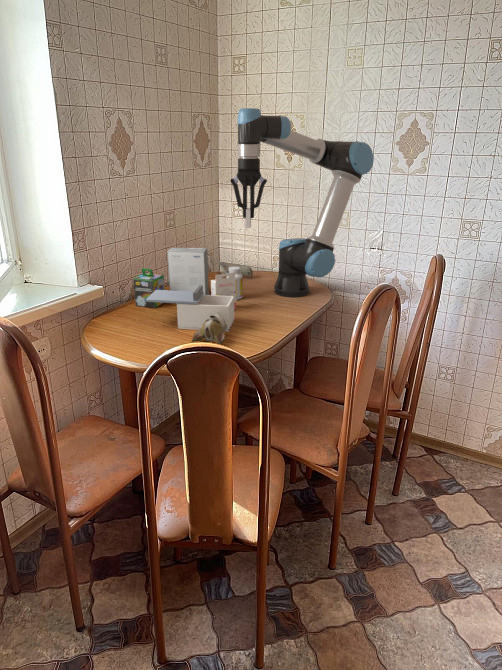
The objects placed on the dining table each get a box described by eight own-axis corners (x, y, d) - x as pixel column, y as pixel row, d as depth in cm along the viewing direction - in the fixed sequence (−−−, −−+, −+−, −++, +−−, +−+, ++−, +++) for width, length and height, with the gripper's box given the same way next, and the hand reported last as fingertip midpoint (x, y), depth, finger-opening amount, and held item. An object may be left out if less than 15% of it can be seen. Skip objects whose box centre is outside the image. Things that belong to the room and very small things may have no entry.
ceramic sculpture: (233, 308, 171) (220, 326, 157) (234, 332, 174) (222, 351, 161) (202, 306, 173) (188, 324, 160) (204, 330, 176) (190, 348, 163)
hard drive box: (209, 294, 216) (208, 248, 208) (206, 300, 209) (205, 252, 201) (173, 293, 217) (171, 247, 210) (169, 298, 210) (166, 250, 203)
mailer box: (234, 319, 187) (234, 296, 183) (228, 331, 175) (228, 306, 172) (186, 317, 189) (185, 294, 185) (177, 328, 178) (176, 304, 174)
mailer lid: (204, 294, 184) (203, 284, 183) (196, 304, 173) (196, 294, 172) (156, 291, 186) (155, 282, 185) (145, 301, 175) (145, 291, 174)
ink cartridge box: (230, 305, 202) (230, 269, 196) (236, 309, 198) (236, 272, 192) (210, 308, 198) (210, 272, 193) (216, 312, 194) (215, 275, 189)
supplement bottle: (238, 294, 216) (238, 265, 211) (245, 299, 210) (245, 268, 205) (224, 296, 213) (223, 266, 208) (230, 301, 207) (230, 270, 203)
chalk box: (166, 302, 206) (164, 266, 200) (155, 308, 198) (152, 271, 192) (146, 299, 209) (143, 264, 203) (134, 306, 201) (131, 269, 195)
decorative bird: (251, 280, 238) (252, 263, 235) (215, 279, 240) (215, 262, 237) (253, 277, 243) (253, 261, 240) (218, 276, 245) (217, 259, 242)
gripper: (268, 157, 176) (267, 226, 185) (231, 157, 178) (232, 225, 186) (266, 158, 169) (265, 229, 178) (228, 157, 171) (228, 228, 179)
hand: (248, 227), depth 182 cm, fingers closed
